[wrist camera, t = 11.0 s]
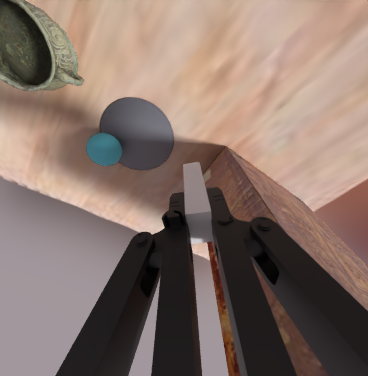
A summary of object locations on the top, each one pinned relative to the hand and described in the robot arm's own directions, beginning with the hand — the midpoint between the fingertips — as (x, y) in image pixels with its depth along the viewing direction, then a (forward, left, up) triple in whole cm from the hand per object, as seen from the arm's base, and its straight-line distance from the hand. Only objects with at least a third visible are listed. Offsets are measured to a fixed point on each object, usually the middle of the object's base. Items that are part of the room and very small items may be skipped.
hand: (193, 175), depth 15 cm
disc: (0, -9, -16) cm, 19 cm away
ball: (0, -14, -14) cm, 20 cm away
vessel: (-13, -17, -17) cm, 28 cm away
